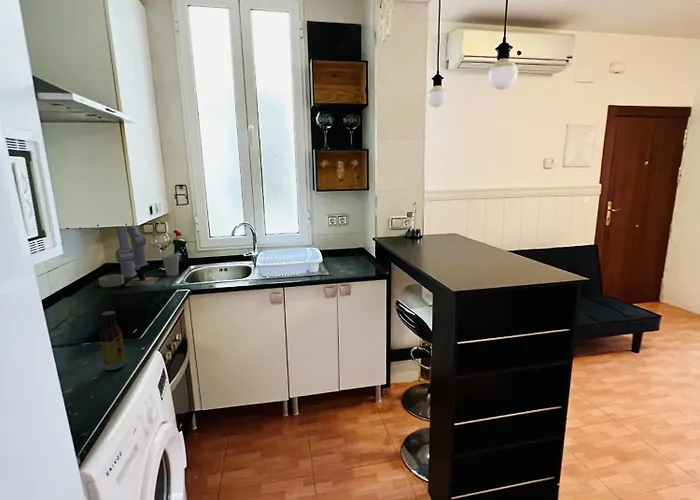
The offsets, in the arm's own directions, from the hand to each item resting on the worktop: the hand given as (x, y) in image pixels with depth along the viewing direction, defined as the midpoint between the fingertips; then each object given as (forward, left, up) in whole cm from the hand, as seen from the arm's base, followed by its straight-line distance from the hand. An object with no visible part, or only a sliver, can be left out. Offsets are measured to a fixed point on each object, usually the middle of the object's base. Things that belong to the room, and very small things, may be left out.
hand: (142, 278), depth 230 cm
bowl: (+2, -16, -2) cm, 16 cm away
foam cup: (-12, +14, -2) cm, 19 cm away
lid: (0, 0, -2) cm, 2 cm away
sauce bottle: (+108, +22, -2) cm, 110 cm away
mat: (0, 0, -2) cm, 2 cm away
